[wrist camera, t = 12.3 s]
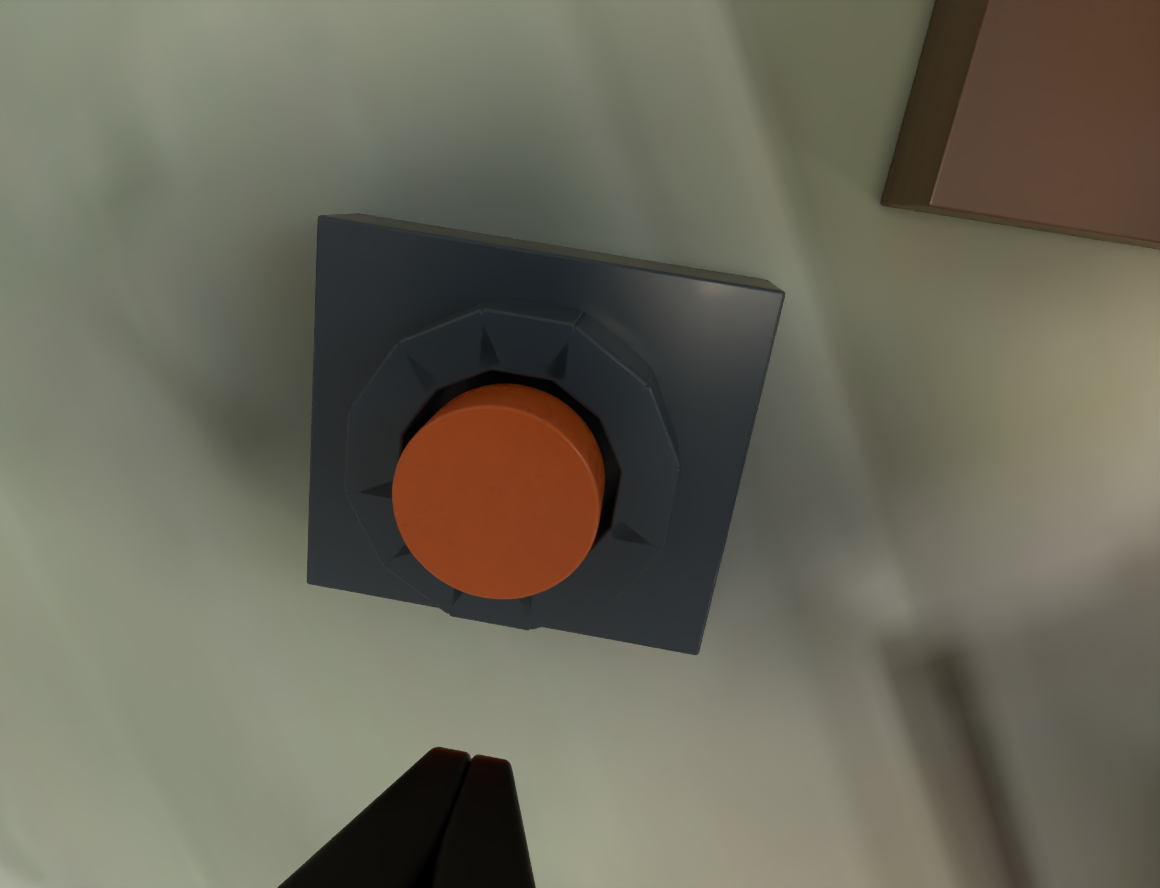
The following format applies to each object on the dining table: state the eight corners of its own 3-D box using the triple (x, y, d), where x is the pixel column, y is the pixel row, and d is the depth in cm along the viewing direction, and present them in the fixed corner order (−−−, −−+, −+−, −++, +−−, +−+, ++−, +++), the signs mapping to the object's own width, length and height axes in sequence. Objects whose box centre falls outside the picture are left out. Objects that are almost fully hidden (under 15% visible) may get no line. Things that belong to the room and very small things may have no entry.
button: (620, 400, 15) (615, 426, 13) (589, 574, 16) (582, 617, 14) (425, 367, 15) (397, 388, 13) (411, 542, 16) (384, 581, 15)
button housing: (770, 280, 17) (803, 303, 13) (693, 609, 20) (703, 704, 16) (355, 212, 18) (275, 216, 14) (340, 545, 20) (270, 624, 17)
